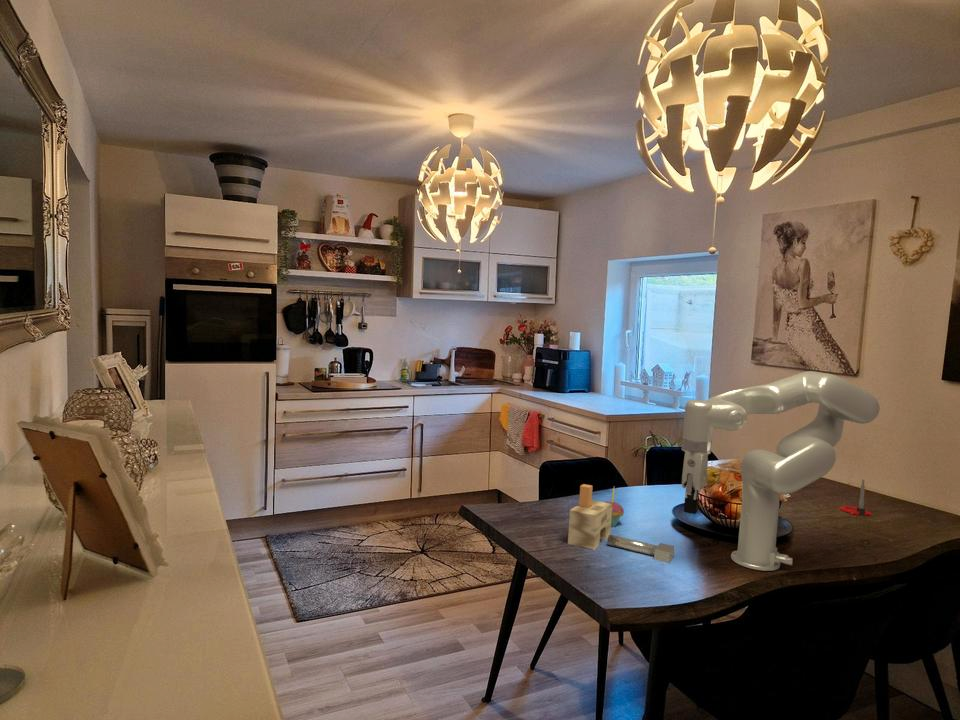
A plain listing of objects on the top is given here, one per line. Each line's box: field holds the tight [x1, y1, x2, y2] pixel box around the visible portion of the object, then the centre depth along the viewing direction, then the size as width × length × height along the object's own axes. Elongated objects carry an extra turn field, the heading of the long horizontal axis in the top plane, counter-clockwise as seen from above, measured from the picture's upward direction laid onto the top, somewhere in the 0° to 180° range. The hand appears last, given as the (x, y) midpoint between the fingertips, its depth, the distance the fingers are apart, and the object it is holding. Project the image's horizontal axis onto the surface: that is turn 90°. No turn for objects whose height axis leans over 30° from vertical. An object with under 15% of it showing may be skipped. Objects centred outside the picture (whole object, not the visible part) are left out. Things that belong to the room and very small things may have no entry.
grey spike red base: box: [839, 479, 872, 517], centre depth 230 cm, size 8×13×9 cm
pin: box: [606, 534, 675, 564], centre depth 179 cm, size 18×6×3 cm, turn 59°
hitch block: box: [567, 499, 612, 551], centre depth 186 cm, size 8×14×10 cm, turn 149°
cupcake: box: [604, 486, 625, 527], centre depth 202 cm, size 9×8×12 cm
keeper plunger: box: [578, 483, 594, 508], centre depth 187 cm, size 3×3×7 cm
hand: (690, 512), depth 171 cm, fingers closed
